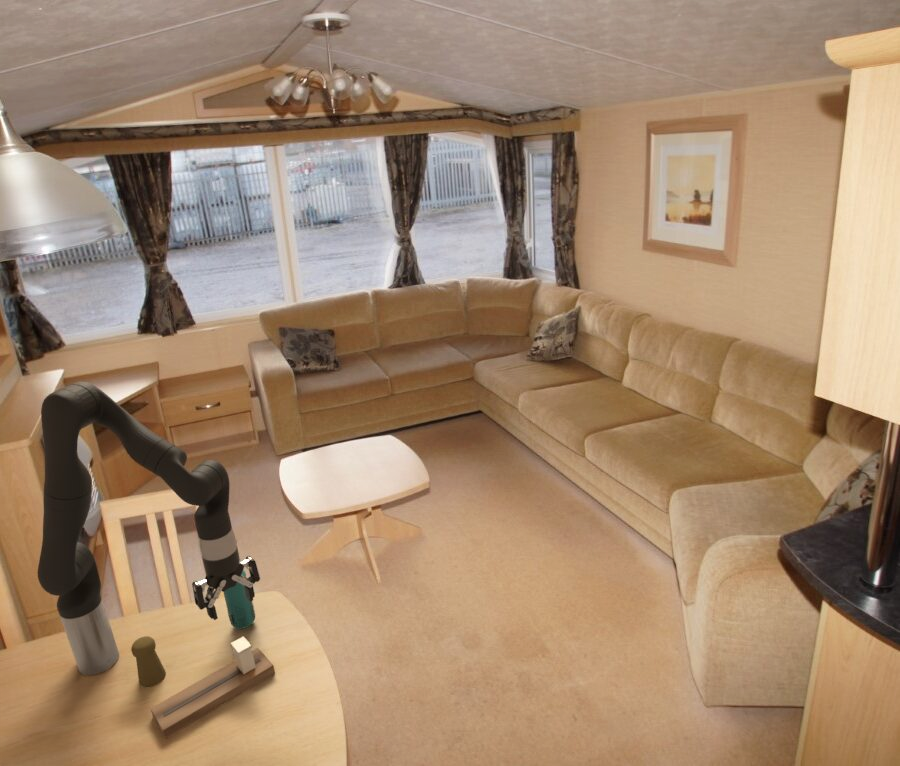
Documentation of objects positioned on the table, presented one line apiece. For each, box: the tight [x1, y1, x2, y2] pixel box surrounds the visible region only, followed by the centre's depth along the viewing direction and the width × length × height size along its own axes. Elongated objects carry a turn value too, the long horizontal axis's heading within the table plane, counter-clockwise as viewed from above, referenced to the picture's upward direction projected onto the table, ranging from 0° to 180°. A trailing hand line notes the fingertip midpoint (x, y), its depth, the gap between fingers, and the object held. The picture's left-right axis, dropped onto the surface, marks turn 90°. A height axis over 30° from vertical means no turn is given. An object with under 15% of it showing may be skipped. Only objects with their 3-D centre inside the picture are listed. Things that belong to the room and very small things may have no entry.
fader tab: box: [230, 636, 256, 674], centre depth 160 cm, size 4×3×7 cm
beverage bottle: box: [223, 569, 257, 630], centre depth 175 cm, size 6×7×20 cm
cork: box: [130, 635, 167, 688], centre depth 162 cm, size 6×6×11 cm
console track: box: [150, 647, 276, 740], centre depth 157 cm, size 8×26×3 cm, turn 131°
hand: (232, 608), depth 155 cm, fingers open, 8 cm apart
